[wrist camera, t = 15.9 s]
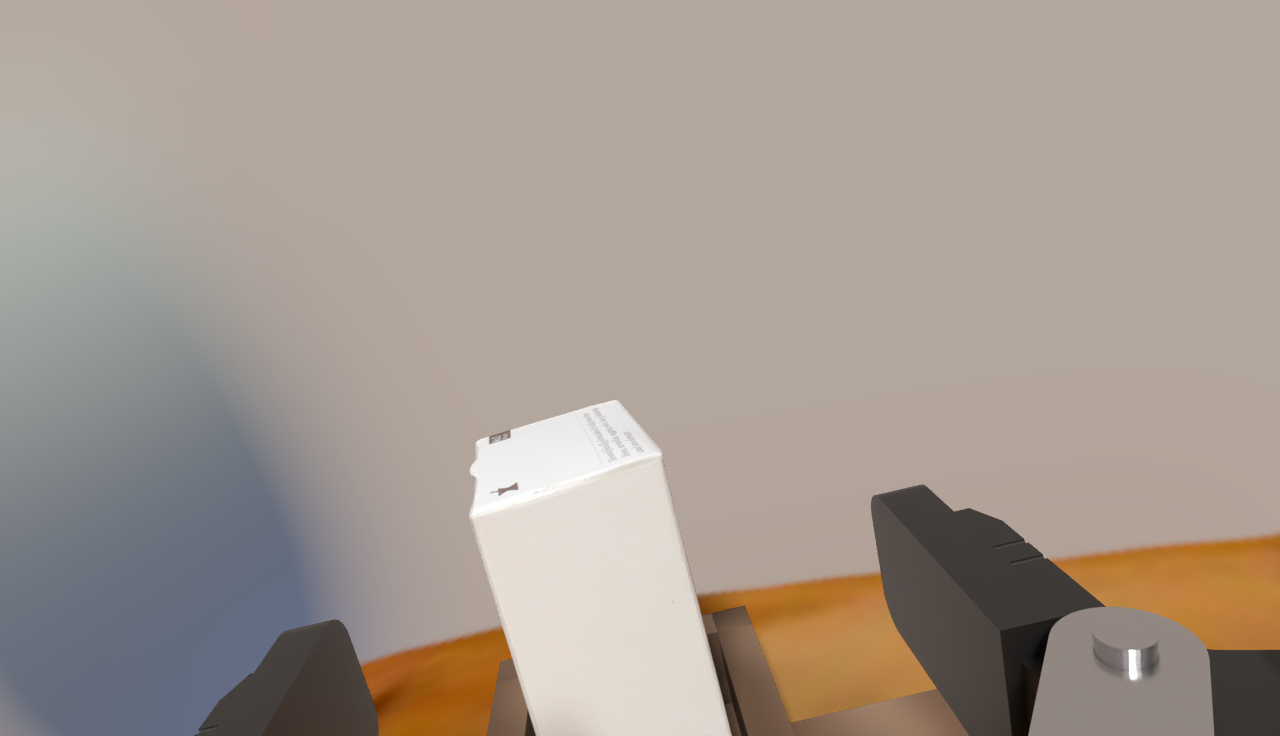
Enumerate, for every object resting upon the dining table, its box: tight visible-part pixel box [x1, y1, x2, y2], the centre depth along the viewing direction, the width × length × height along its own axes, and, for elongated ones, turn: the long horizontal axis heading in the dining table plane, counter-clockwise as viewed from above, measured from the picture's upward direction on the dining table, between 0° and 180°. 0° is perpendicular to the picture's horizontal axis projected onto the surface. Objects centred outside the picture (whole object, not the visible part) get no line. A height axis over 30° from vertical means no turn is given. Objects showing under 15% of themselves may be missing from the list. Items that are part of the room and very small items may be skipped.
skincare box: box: [470, 400, 732, 736], centre depth 26 cm, size 8×6×15 cm
